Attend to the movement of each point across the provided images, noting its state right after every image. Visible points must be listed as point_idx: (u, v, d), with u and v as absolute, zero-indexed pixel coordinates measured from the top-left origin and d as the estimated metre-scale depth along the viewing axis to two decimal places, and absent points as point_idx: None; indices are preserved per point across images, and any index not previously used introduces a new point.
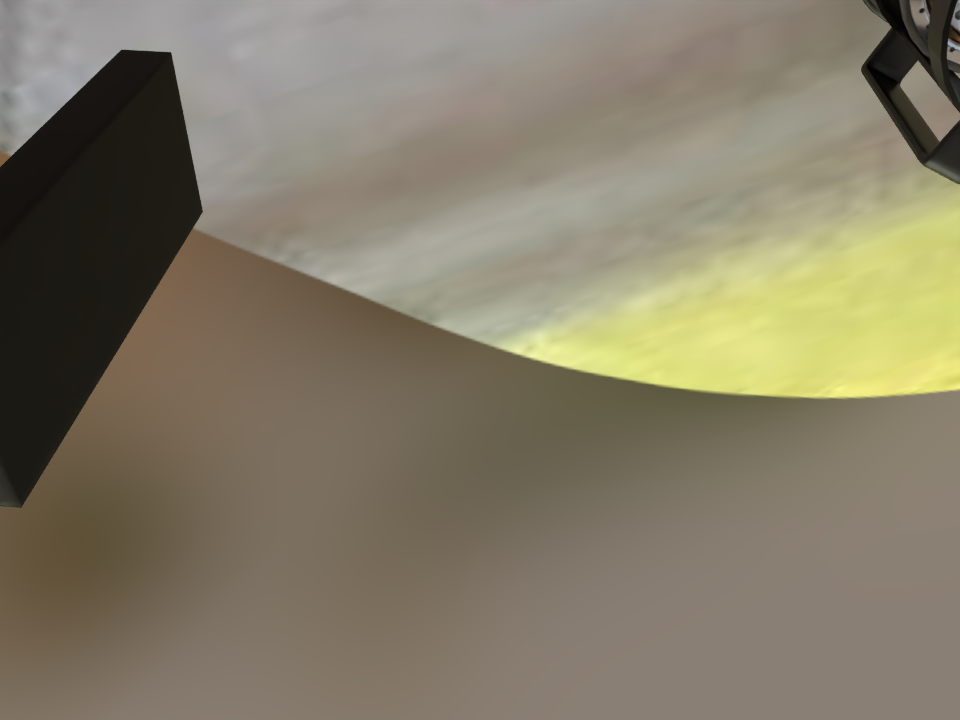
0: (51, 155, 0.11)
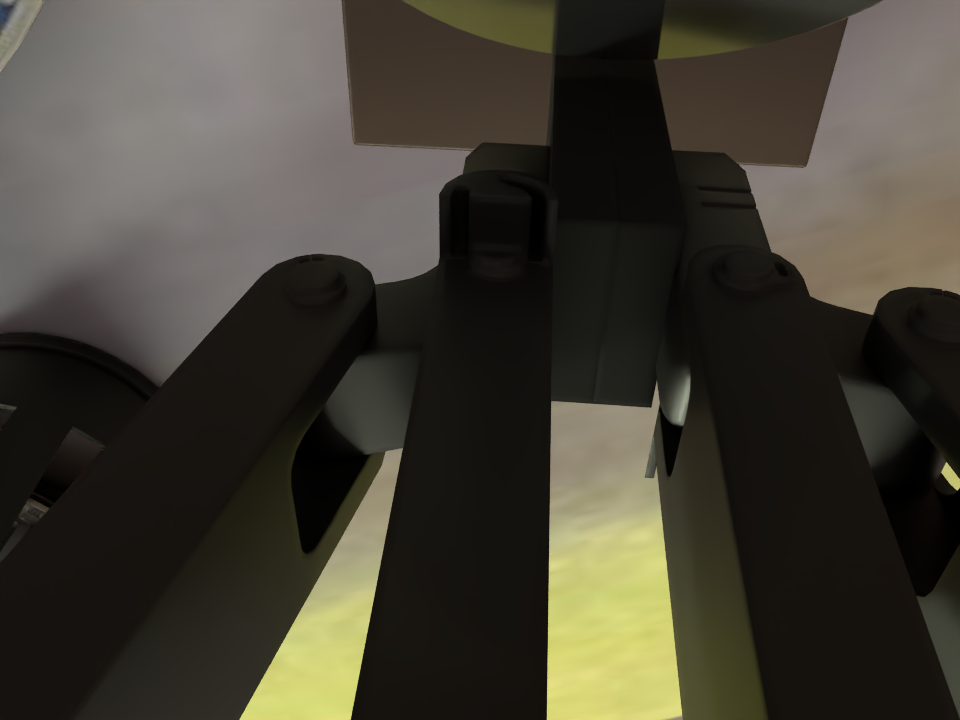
0: (587, 101, 0.12)
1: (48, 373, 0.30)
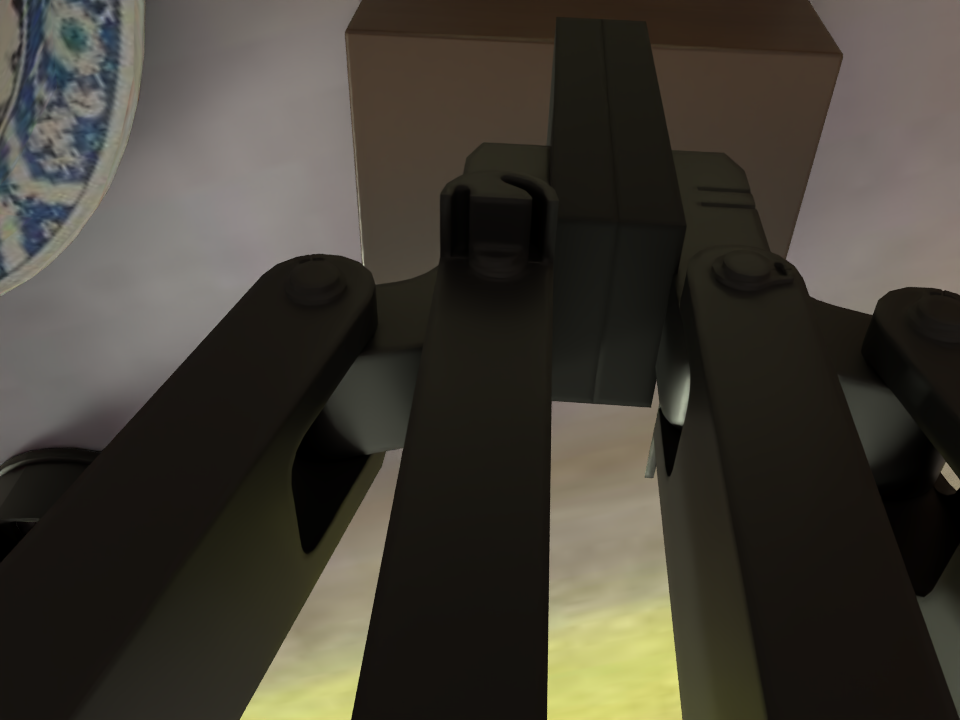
0: (587, 101, 0.12)
1: None
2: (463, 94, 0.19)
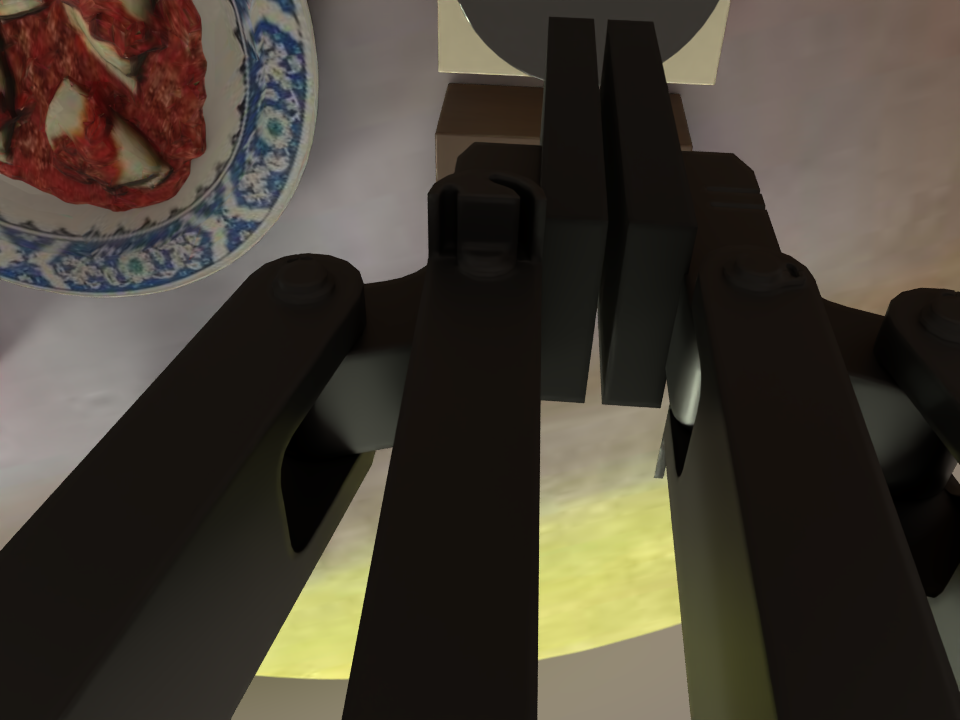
0: (578, 101, 0.12)
1: None
2: None
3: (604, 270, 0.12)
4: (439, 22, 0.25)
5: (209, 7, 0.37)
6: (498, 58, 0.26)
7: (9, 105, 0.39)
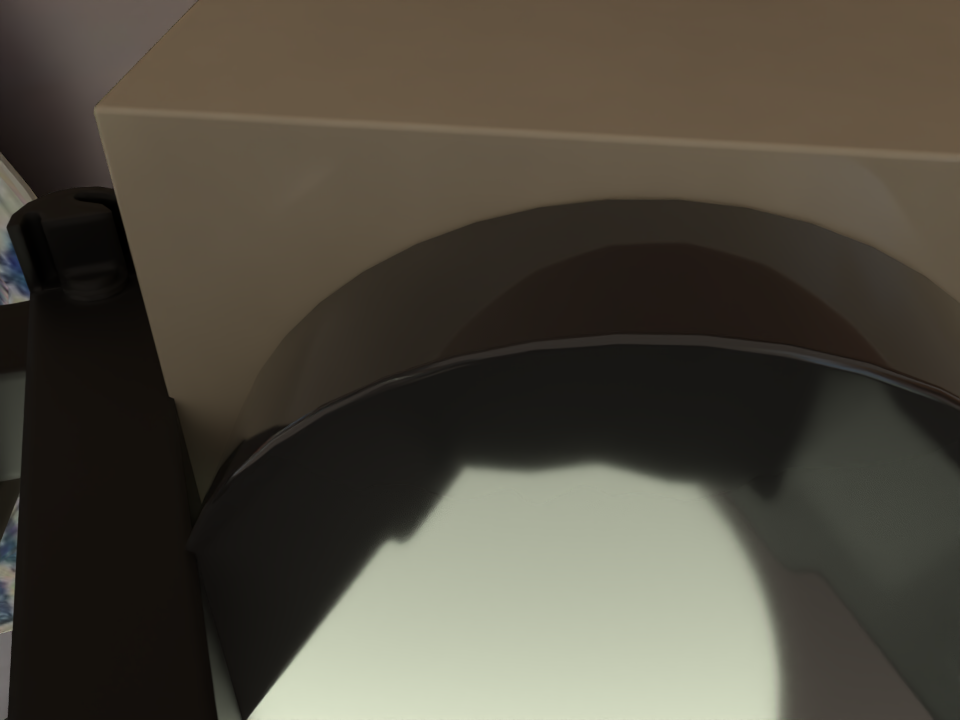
0: None
1: None
2: None
3: None
4: None
5: None
6: None
7: None
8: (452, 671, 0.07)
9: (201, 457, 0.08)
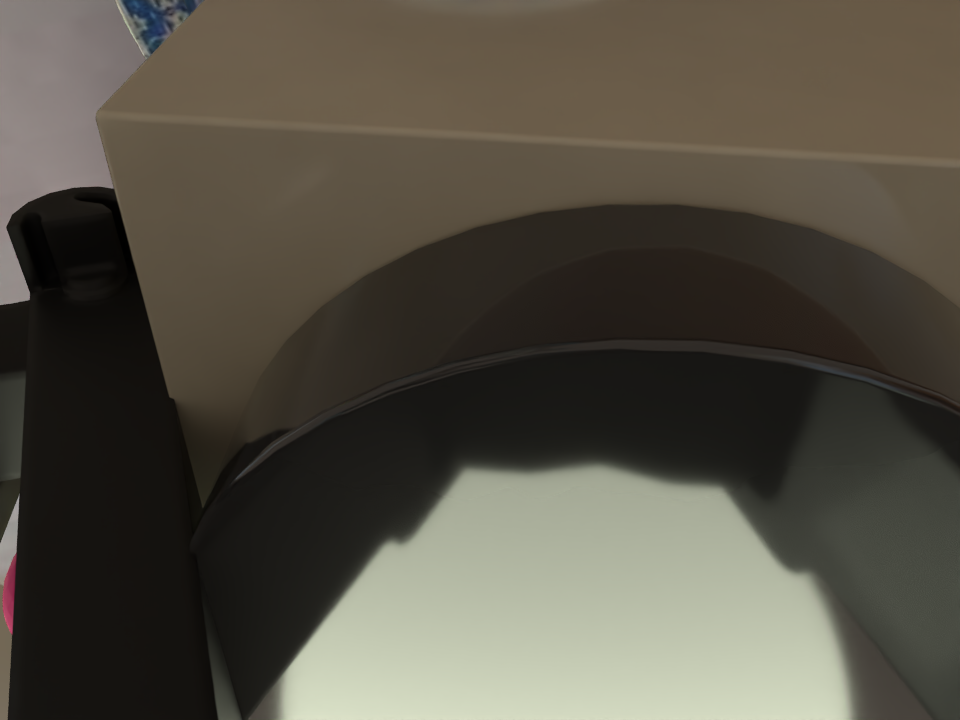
0: None
1: None
2: None
3: None
4: None
5: None
6: None
7: None
8: (453, 674, 0.07)
9: (202, 460, 0.08)
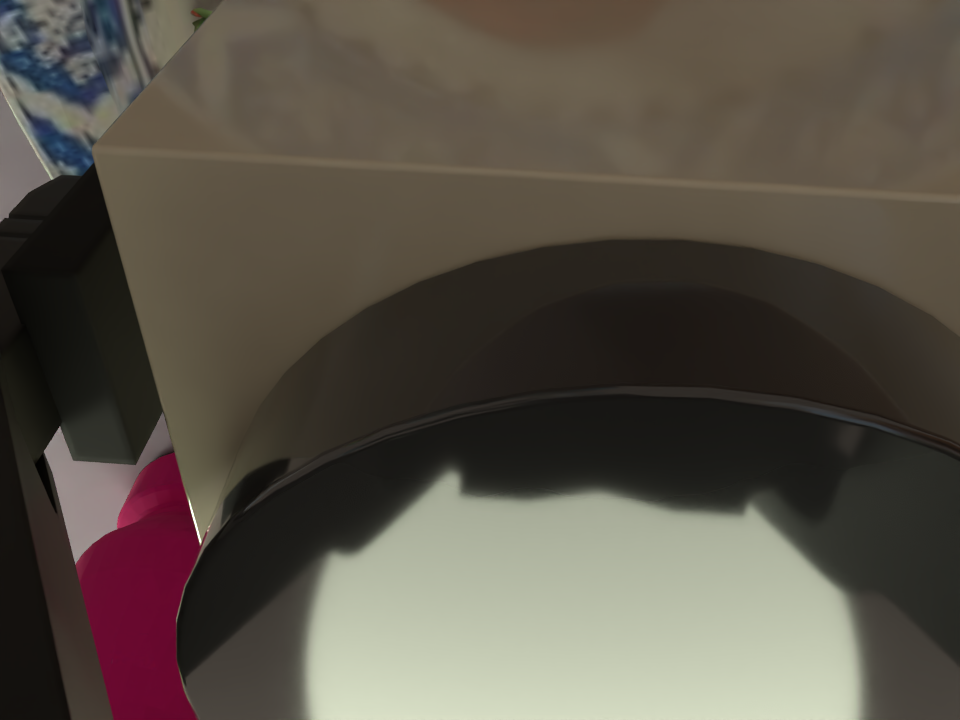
0: None
1: None
2: None
3: None
4: None
5: None
6: None
7: None
8: (454, 709, 0.07)
9: (200, 489, 0.08)
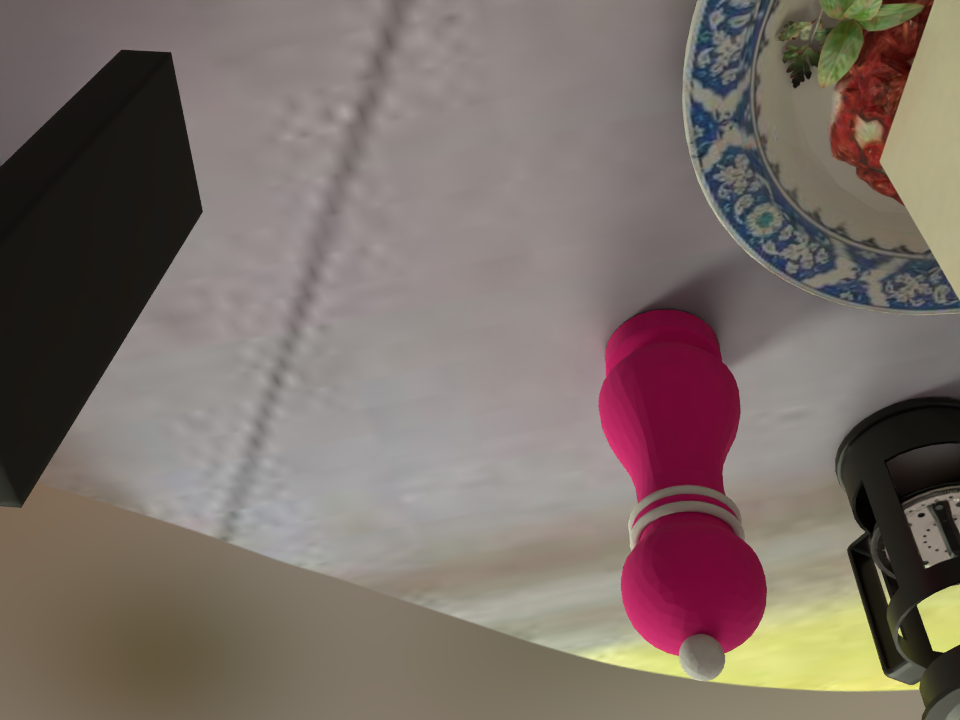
0: (52, 155, 0.11)
1: None
2: None
3: None
4: None
5: None
6: None
7: None
8: None
9: None
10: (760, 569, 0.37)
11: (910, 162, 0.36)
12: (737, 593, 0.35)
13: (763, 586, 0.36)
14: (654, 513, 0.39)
